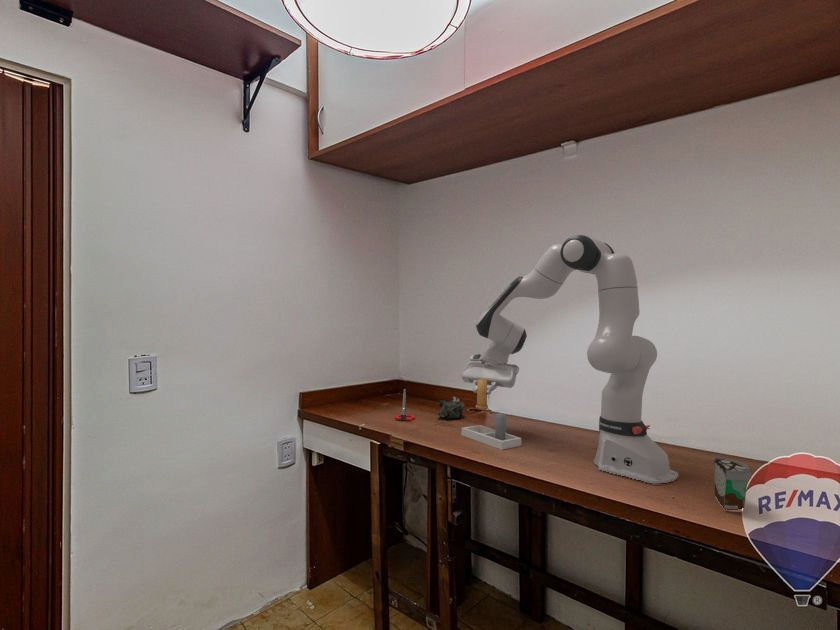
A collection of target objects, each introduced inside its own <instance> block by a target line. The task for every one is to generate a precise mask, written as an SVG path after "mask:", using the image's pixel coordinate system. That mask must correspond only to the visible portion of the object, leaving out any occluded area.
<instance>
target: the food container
mask: <svg viewBox="0 0 840 630" xmlns="http://www.w3.org/2000/svg"><path fill="white" fill-rule="evenodd" d="M713 464H714V466H713V468H714V469H713V471H714V472H713V473H714V475H713V483H714V484H713V495H714V494H715V496H716V497H717V499H718V501H719V502H720V504H721V505H722V506H723V508H724V509H725V510H726V509H727V510H738V509H742V508H744V509H745V505H746V496H747V488H748V482H749V481H748V480H750V479H752V473H751V470H750V467H749V465H747V464H745V463H743V462H742V461H739V460H735V459H731V458H727V457H723V456H717V455H715V456H714V457H713Z"/></svg>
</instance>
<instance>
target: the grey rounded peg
mask: <svg viewBox="0 0 840 630" xmlns="http://www.w3.org/2000/svg"><path fill="white" fill-rule="evenodd" d="M506 428H507V414H506V413H501V412H498V413H496V414H495V438H496V439H499V440H501V441H503V440H505V436H506V433H507V429H506Z"/></svg>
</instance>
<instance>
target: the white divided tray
mask: <svg viewBox="0 0 840 630" xmlns="http://www.w3.org/2000/svg"><path fill="white" fill-rule="evenodd" d="M461 436H463V437H467V438H468V439H470V440H474V441H476V442H479V443H482V444H485V445H487V446H491V447H493V448H496V449H498V450H501V451H503V450H507V449H512V448H518V447H522V437H520V436H516V435H512V434H509V433H507V432H506V436H505V440H503V441H501V440H499V439H496V438H495V429H494V428H491V427H489V426H486V425H485V426H484V425H481V424H478V425H471V426H465V427H461Z"/></svg>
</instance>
